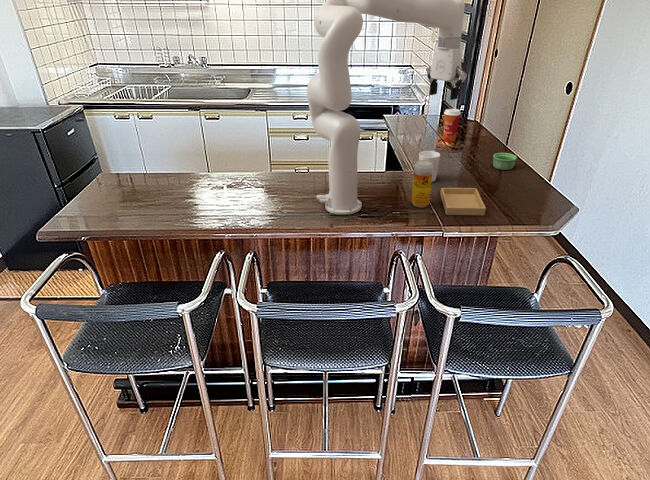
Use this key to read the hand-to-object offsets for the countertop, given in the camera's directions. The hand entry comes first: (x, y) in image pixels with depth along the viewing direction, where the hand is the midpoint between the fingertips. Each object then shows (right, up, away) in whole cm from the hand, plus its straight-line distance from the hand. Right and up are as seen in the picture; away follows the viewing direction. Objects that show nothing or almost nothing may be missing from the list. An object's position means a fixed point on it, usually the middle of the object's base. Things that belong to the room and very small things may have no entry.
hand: (443, 96), depth 154 cm
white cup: (-2, -26, +16) cm, 31 cm away
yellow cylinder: (-9, -39, -3) cm, 40 cm away
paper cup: (+17, 0, +55) cm, 58 cm away
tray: (+5, -39, -4) cm, 39 cm away
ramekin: (+31, -19, +25) cm, 44 cm away
